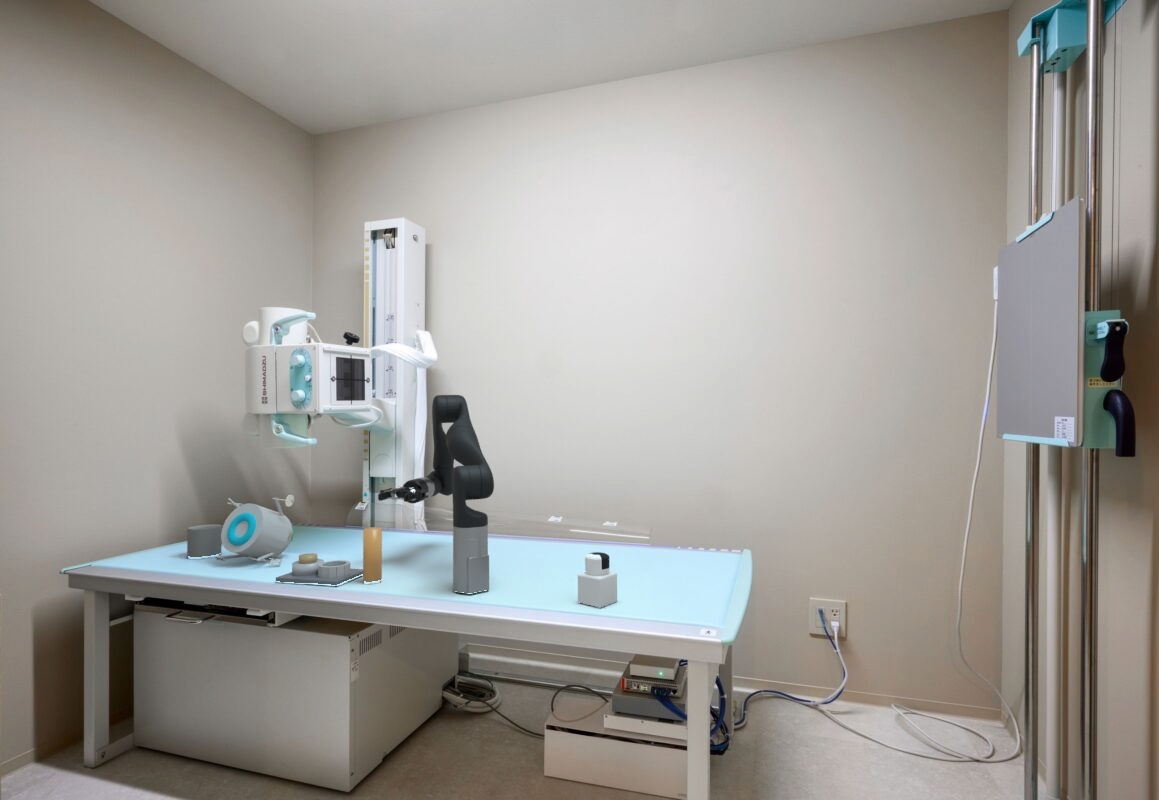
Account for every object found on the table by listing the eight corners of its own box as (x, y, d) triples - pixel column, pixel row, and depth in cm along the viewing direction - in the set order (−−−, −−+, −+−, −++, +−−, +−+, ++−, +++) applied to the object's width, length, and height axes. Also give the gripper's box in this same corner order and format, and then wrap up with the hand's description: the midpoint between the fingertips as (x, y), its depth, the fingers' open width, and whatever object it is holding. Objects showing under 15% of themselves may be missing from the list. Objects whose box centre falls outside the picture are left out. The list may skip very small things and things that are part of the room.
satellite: (318, 504, 208) (259, 508, 214) (276, 488, 190) (214, 492, 197) (303, 571, 198) (242, 573, 205) (258, 560, 181) (193, 562, 188)
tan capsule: (384, 582, 169) (384, 528, 169) (366, 585, 165) (367, 530, 166) (377, 578, 172) (377, 526, 173) (360, 581, 169) (360, 528, 170)
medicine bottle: (595, 596, 153) (594, 549, 153) (617, 601, 148) (617, 553, 149) (577, 603, 147) (576, 554, 148) (600, 608, 143) (599, 558, 143)
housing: (367, 574, 177) (367, 552, 178) (336, 587, 164) (336, 563, 164) (310, 570, 182) (310, 549, 183) (275, 582, 169) (276, 559, 169)
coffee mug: (200, 560, 198) (201, 530, 198) (180, 558, 202) (180, 528, 202) (236, 552, 211) (237, 523, 211) (216, 550, 214) (217, 522, 215)
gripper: (399, 477, 197) (371, 484, 181) (438, 478, 194) (413, 485, 178) (399, 500, 197) (371, 509, 181) (438, 502, 194) (413, 511, 178)
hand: (392, 497), depth 180 cm, fingers open, 8 cm apart
